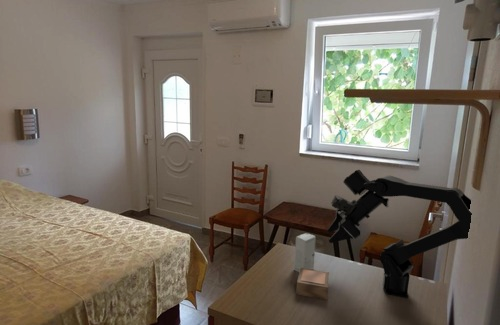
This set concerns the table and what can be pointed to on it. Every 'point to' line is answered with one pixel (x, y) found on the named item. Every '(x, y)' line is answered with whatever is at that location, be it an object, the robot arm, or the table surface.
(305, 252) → the skincare box
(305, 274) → the walnut stand
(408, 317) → the table surface
